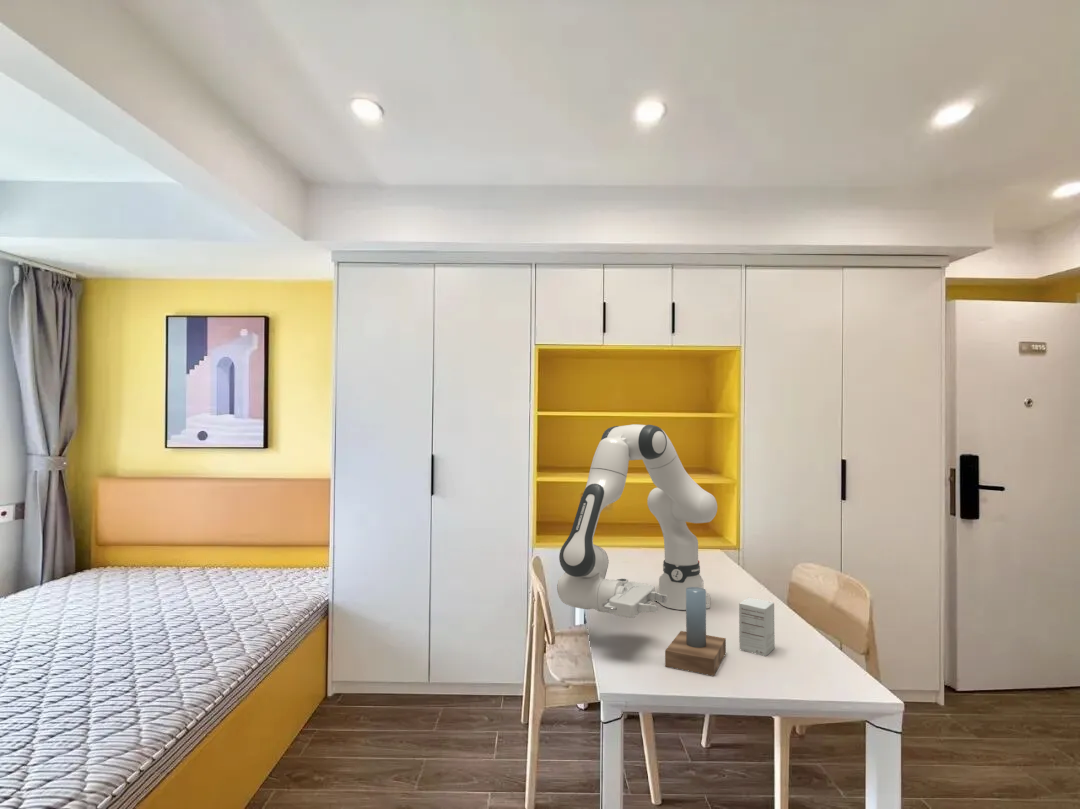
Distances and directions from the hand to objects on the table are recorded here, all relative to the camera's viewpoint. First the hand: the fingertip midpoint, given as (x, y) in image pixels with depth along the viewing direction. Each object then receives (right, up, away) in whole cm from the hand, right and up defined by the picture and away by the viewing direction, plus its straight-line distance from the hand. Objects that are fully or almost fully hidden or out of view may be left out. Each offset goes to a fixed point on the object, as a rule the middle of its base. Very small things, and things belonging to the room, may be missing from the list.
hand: (662, 603), depth 161 cm
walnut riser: (+8, -13, -4) cm, 16 cm away
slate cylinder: (+8, -9, -4) cm, 13 cm away
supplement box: (+26, -14, +3) cm, 30 cm away
